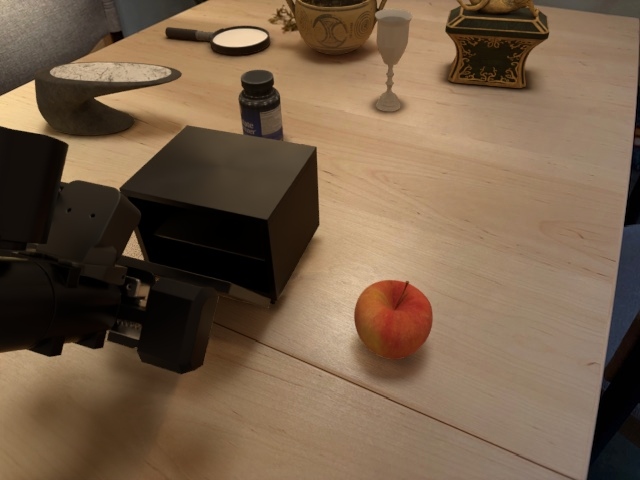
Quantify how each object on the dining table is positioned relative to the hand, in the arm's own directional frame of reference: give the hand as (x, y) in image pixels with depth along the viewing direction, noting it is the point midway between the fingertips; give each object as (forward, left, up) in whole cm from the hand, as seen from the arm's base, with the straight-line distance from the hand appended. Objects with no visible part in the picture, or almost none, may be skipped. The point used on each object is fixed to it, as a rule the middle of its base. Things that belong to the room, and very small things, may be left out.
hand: (157, 298), depth 48 cm
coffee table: (+31, +39, -8) cm, 51 cm away
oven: (+14, +2, -8) cm, 16 cm away
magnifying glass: (+67, +47, -8) cm, 82 cm away
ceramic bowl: (+75, +22, -8) cm, 79 cm away
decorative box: (+75, -8, -8) cm, 76 cm away
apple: (+11, -19, -8) cm, 23 cm away
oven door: (+5, +1, -7) cm, 8 cm away
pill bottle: (+37, +14, -8) cm, 41 cm away
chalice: (+57, +2, -8) cm, 58 cm away
